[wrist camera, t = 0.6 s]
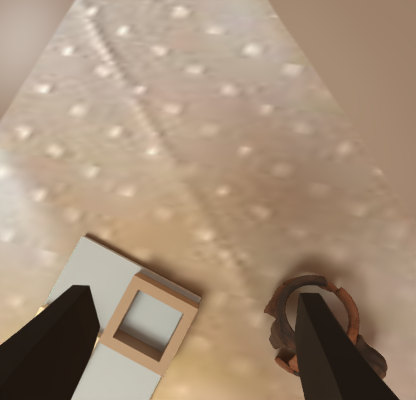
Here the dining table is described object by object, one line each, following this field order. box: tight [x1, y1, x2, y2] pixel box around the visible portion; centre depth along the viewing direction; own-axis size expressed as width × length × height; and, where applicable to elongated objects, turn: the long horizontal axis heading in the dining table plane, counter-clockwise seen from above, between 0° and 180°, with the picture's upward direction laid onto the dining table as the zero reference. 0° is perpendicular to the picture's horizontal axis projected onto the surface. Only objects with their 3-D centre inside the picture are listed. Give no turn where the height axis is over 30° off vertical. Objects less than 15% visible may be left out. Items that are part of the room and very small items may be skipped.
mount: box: [35, 236, 201, 400], centre depth 33 cm, size 15×14×4 cm
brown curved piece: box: [264, 275, 387, 379], centre depth 33 cm, size 12×10×8 cm
